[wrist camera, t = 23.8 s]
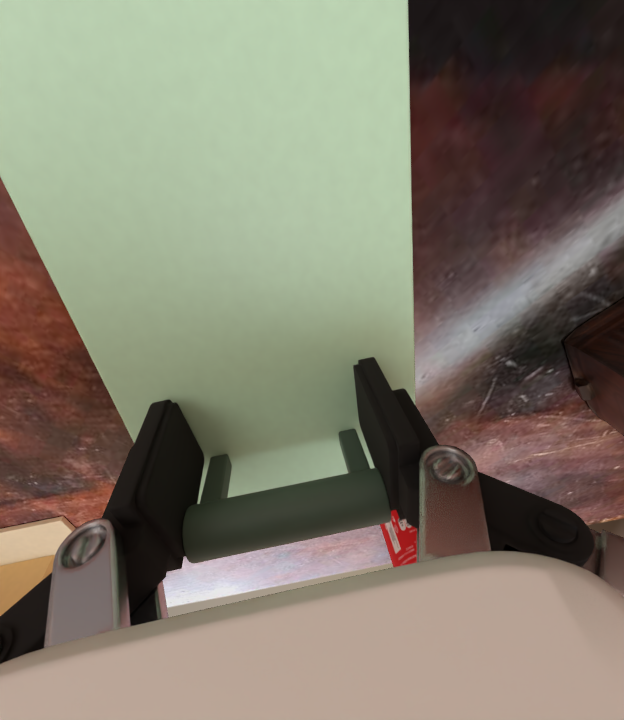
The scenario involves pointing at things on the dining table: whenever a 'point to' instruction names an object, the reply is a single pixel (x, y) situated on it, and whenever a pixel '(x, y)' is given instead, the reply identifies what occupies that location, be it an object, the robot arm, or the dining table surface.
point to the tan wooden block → (22, 579)
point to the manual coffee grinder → (600, 364)
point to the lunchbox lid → (226, 232)
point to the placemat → (33, 539)
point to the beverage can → (400, 540)
